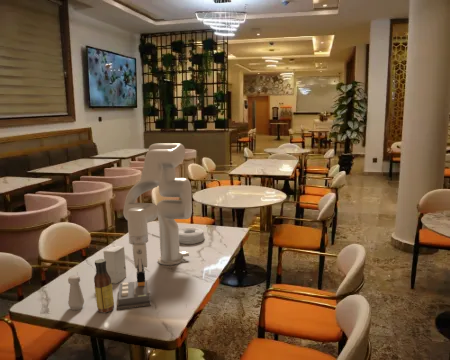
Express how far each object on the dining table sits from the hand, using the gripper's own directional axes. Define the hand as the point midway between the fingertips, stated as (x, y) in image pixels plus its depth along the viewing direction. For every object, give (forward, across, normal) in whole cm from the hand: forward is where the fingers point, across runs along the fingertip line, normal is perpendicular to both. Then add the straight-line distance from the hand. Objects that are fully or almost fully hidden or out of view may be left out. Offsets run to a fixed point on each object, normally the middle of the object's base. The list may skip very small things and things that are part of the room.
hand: (141, 281), depth 160 cm
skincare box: (+7, +20, +11) cm, 24 cm away
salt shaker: (+7, -3, +25) cm, 26 cm away
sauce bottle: (+7, -8, +14) cm, 17 cm away
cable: (+7, +66, -29) cm, 72 cm away
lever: (+3, +4, 0) cm, 5 cm away
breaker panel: (+6, +1, +3) cm, 7 cm away
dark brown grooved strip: (+6, -8, +3) cm, 11 cm away
